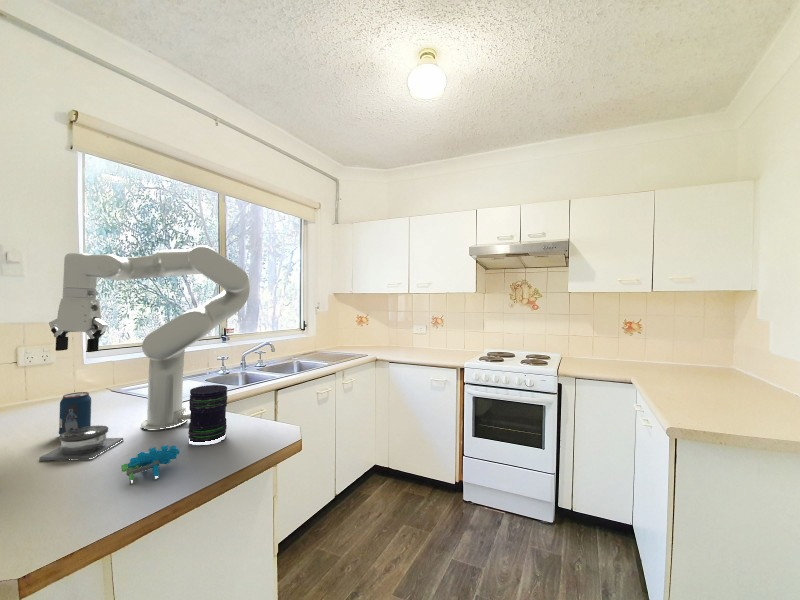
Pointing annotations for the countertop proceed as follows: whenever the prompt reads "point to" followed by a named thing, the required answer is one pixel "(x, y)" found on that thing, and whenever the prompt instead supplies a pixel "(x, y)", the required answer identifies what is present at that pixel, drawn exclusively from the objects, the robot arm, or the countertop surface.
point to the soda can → (74, 411)
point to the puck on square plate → (81, 444)
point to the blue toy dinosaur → (150, 460)
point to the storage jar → (207, 413)
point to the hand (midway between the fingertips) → (77, 350)
